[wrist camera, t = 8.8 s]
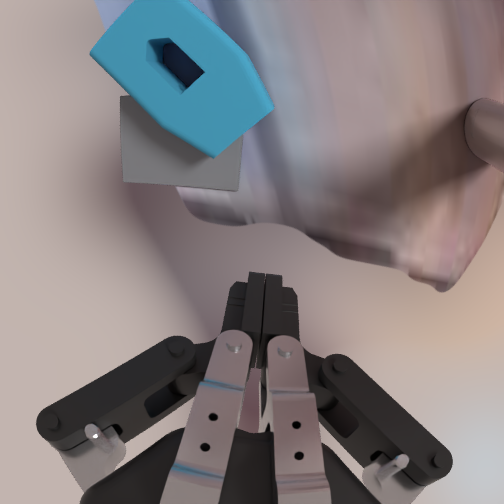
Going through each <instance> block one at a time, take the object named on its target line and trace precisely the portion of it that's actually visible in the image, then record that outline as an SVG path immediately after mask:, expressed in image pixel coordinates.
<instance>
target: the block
mask: <svg viewBox="0 0 504 504" xmlns="http://www.w3.org/2000/svg"><path fill="white" fill-rule="evenodd" d="M168 43H175V44H176V45H177V46H179V47H180V48H181V49H182V50H183V51H184V52H185V53H186V54H187V55H188V56H189V57H190V58H191V59H192V60H193V61H194V62H195V63H196V64H197V65H198V66H199V67H200V68H201V69H202V70H203V71H204V72H205V73H204V74H203V75H201V76H200V77H199V78H198V79H197V80H196V81H195V82H194V83H193V84H192V85H191V86H190V87H189V88H188V87H187V86H186V85H185V84H184V83H183V82H182V81H181V80H180V79H179V78H178V77H177V76H176V75H175V74H174V73H173V72H172V71H171V70H170V69H169V68H168V67H167V66H166V65H165V64H163V63H162V62H163V47H164V45H165V44H168ZM90 56H91V57H92V58H93V59H94V60H95V61H96V62H97V63H98V64H99V65H100V66H101V67H102V68H104V70H105V71H106V72H107V73H108V74H109V75H110V76H111V77H112V78H114V80H115V81H116V82H117V83H118V84H119V85H121V87H122V88H124V90H125V91H126V92H127V93H128V94H129V95H130V96H131V97H132V98H133V99H134V100H135V101H136V102H137V103H138V104H139V105H140V106H141V107H142V108H143V109H144V110H145V111H146V112H147V113H148V114H149V115H150V116H151V117H152V118H153V119H154V120H155V121H156V122H157V123H158V124H159V125H160V126H161V127H162V128H163V129H165V130H167V131H169V132H170V133H172V134H174V135H175V136H177V137H179V138H180V139H182V140H183V141H185V142H187V143H188V144H190V145H192V146H193V147H195V148H197V149H198V150H200V151H201V152H203V153H205V154H206V155H208V156H209V157H211V158H213V159H214V158H215V157H216V156H218V155H219V154H220V153H221V152H222V151H223V150H225V149H226V148H227V147H228V146H229V145H230V144H232V143H233V142H234V141H235V140H236V139H238V138H239V137H240V136H241V135H242V134H244V133H245V132H246V131H247V130H248V129H250V128H251V127H252V126H253V125H255V124H256V123H257V122H258V121H260V120H261V119H262V118H263V117H265V116H266V115H267V114H268V113H270V112H271V111H272V110H273V109H274V104H273V102H272V100H271V98H270V96H269V94H268V92H267V90H266V88H265V86H264V85H263V83H262V81H261V79H260V77H259V75H258V73H257V71H256V69H255V67H254V66H253V64H252V62H251V60H250V58H249V56H248V55H247V54H246V53H245V52H244V51H243V50H242V49H241V48H240V47H239V46H238V45H237V44H236V43H235V42H234V41H233V40H232V39H231V38H230V37H229V36H228V35H227V34H226V33H225V32H224V31H223V30H222V29H220V28H219V27H218V26H217V25H216V24H215V23H214V22H213V21H212V20H211V19H209V18H208V17H207V16H206V15H205V14H204V13H203V12H202V11H200V10H199V9H198V8H197V7H196V6H195V5H193V4H192V3H191V2H190V1H189V0H135V1H134V2H133V3H132V4H131V5H130V6H129V7H128V8H127V9H126V10H125V11H124V12H123V13H122V14H121V15H120V16H119V17H118V19H117V20H116V21H115V22H114V23H113V24H112V25H111V26H110V28H109V29H108V30H107V31H106V32H105V34H104V35H103V36H102V37H101V38H100V39H99V41H98V42H97V43H96V44H95V46H94V47H93V48H92V50H91V51H90Z"/></svg>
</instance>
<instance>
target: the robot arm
mask: <svg viewBox="0 0 504 504" xmlns="http://www.w3.org/2000/svg"><path fill="white" fill-rule="evenodd" d="M465 137H466V141H467V144H468V146H469V148H470V150H471V151H472V152H473V153H474V154H475V155H476V156H477V157H479V158H480V159H482V160H484V161H485V162H487V163H489V164H490V165H492V166H493V167H495V168H496V169H498V170H500V171H501V172H503V173H504V103H502V102H498V101H495V100H491V99H487V98H484V99H480V100H477V101H476V102H475V103H473V105H472V106H471V107H470V109H469V111H468V112H467V115H466V119H465ZM264 281H265V284H264ZM256 357H257V363H256V368H259V369H261V378H260V383H259V405H260V406H259V408H260V409H259V410H260V424H259V433H249V432H246V431H243V430H240V429H238V423H239V417H240V413H241V408H242V404H243V399H244V394H245V389H246V384H247V381H248V379H249V375H250V369H251V368H254V367H255V362H256ZM194 396H195V399H194V402H193V405H192V408H191V411H190V414H189V418H188V421H187V424H186V427H184V428H180V429H177V430H175V431H172V432H170V433H169V434H167V435H165V436H164V437H163V438H161V439H160V440H158V441H157V442H156V443H154V444H153V445H152V446H150V447H149V448H147V449H146V450H145V451H143V452H142V453H140V454H139V455H138V456H136V457H135V458H133V459H132V460H130V461H129V462H127V463H126V464H125V465H123V466H121V467H120V468H118V469H117V470H115V471H114V469H115V467H116V466H117V464H119V463H120V462H121V461H122V460H123V459H124V457H125V454H126V446H125V443H126V442H128V441H129V440H131V439H133V438H134V437H136V436H137V435H139V434H140V433H142V432H143V431H145V430H146V429H148V428H150V427H151V426H152V425H154V424H155V423H157V422H158V421H160V420H161V419H163V418H164V417H166V416H167V415H169V414H170V413H172V412H173V411H175V410H176V409H177V408H179V407H180V406H182V405H183V404H184V403H186V402H187V401H189V400H190V399H191V398H193V397H194ZM319 422H320V423H321V424H322V425H323V426H324V427H325V429H326V430H327V431H328V432H329V433H330V434H331V435H332V436H333V437H334V438H335V439H336V440H337V441H338V442H339V443H340V444H341V445H342V446H343V447H344V449H345V450H347V452H348V453H349V454H350V455H351V456H352V457H353V458H354V459H355V460H356V461H357V462H358V463H359V464H360V465H361V466H362V467H363V468H364V470H363V474H362V479H363V482H364V484H365V485H366V487H367V488H368V489H367V488H366V487H365V486H364V485H363V483H362V482H361V481H360V480H359V479H358V478H357V477H356V476H355V475H354V474H353V473H352V472H351V471H350V469H349V468H348V467H347V466H346V465H345V464H344V463H343V462H342V460H341V459H340V458H339V457H338V456H337V455H336V454H335V453H334V451H333V450H331V449H330V448H329V447H328V446H327V445H325V444H323V443H321V436H320V428H319ZM36 426H37V430H38V432H39V434H40V435H41V436H42V437H43V438H44V439H45V440H46V441H48V442H49V443H50V445H51V446H52V447H54V448H55V449H56V450H57V451H58V452H59V453H60V455H61V457H62V459H63V460H64V462H65V464H66V465H67V467H68V468H69V470H70V472H71V473H72V475H73V476H74V478H75V480H76V481H77V483H78V484H79V485H80V487H81V489H82V490H83V491H84V494H83V496H82V498H81V501H80V504H411V503H412V502H413V501H414V499H415V498H416V497H417V496H418V495H419V494H420V493H421V491H422V490H423V489H424V488H425V487H426V486H427V485H429V484H431V483H433V482H435V481H437V480H439V479H441V478H443V477H445V476H446V475H447V474H448V473H449V472H450V470H451V468H452V464H453V459H452V455H451V453H450V451H449V450H448V449H447V448H446V447H445V446H444V445H442V444H441V443H440V442H439V441H438V440H437V439H436V438H435V437H434V436H433V435H432V434H430V433H429V432H428V431H427V430H426V429H425V428H424V427H423V426H422V425H421V424H420V423H419V422H418V421H416V420H415V419H414V418H413V417H412V416H411V415H410V414H409V413H408V412H407V411H406V410H405V409H404V408H402V407H401V406H400V405H399V404H398V403H397V402H396V401H395V400H394V399H393V398H392V397H391V396H390V395H389V394H387V393H386V392H385V391H384V390H383V389H382V388H381V387H380V386H379V385H378V384H377V383H376V382H375V381H374V380H373V379H372V378H370V377H369V376H368V375H367V374H366V373H365V372H364V371H363V370H362V369H361V368H360V367H359V366H358V365H357V364H356V363H354V362H353V361H352V360H351V359H350V358H349V357H347V356H345V355H342V354H332V355H329V356H327V357H326V358H325V359H324V358H321V357H319V356H316V355H313V354H311V353H309V352H308V351H306V350H305V349H304V348H303V346H302V345H301V343H300V338H299V320H298V300H297V295H296V293H295V292H294V290H293V288H289V287H282V276H281V275H273V274H266V277H265V274H264V273H255V272H249V277H248V283H245V282H235V283H234V284H233V286H232V287H231V288H230V291H229V296H228V301H227V306H226V311H225V316H224V321H223V326H222V330H221V333H220V335H219V336H218V337H217V338H216V339H214V340H212V341H210V342H207V343H200V344H193V342H192V341H191V340H189V339H188V338H186V337H183V336H171V337H168V338H166V339H164V340H163V341H161V342H159V343H158V344H156V345H155V346H153V347H151V348H149V349H148V350H146V351H144V352H143V353H141V354H139V355H138V356H136V357H134V358H133V359H131V360H129V361H128V362H126V363H124V364H122V365H120V366H119V367H117V368H115V369H114V370H112V371H110V372H108V373H107V374H105V375H103V376H102V377H100V378H98V379H96V380H94V381H93V382H91V383H89V384H87V385H86V386H84V387H82V388H80V389H79V390H77V391H75V392H73V393H71V394H70V395H68V396H66V397H64V398H63V399H61V400H59V401H57V402H55V403H53V404H52V405H50V406H48V407H46V408H45V409H43V410H42V411H41V412H40V413H39V415H38V417H37V421H36Z"/></svg>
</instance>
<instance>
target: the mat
mask: <svg viewBox="0 0 504 504" xmlns="http://www.w3.org/2000/svg"><path fill="white" fill-rule="evenodd" d="M120 133H121V158H122V173H123V182H130V183H147V184H148V183H149V184H163V185H176V186H189V187H201V188H212V189H222V190H232V191H238V187H239V175H240V164H241V153H242V142H243V134H242V135H241V136H240V137H239V138H238V139H236V140H235V141H234V142H233V143H232V144H230V145H229V146H228V147H227V148H226V149H225V150H223V151H222V152H221V153H220V154H219V155H218V156H216V157H215V158H214V159H213V158H211V157H209V156H208V155H206V154H205V153H203V152H201V151H200V150H198V149H197V148H195V147H193V146H192V145H190V144H188V143H187V142H185V141H183V140H182V139H180V138H179V137H177V136H175V135H174V134H172V133H170V132H169V131H167V130H165V129H163V128H162V127H161V126H160V125H159V124H158V123H157V122H156V121H155V120H154V119H153V118H152V117H151V116H150V115H149V114H148V113H147V112H146V111H145V110H144V109H143V108H142V107H141V106H140V105H139V104H138V103H137V102H136V101H135V100H134V99H133V98H132V97H131V96H120Z"/></svg>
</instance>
